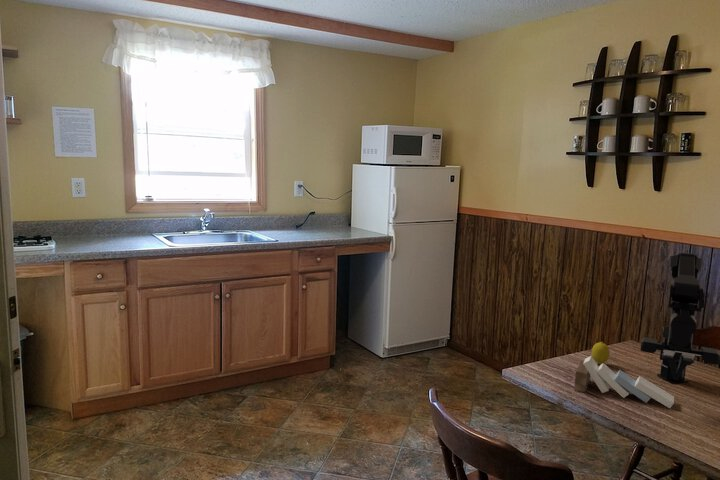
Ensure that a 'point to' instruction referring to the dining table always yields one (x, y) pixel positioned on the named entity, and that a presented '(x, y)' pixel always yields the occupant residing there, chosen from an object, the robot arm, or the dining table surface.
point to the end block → (581, 378)
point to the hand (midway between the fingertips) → (675, 379)
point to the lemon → (600, 352)
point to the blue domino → (630, 385)
